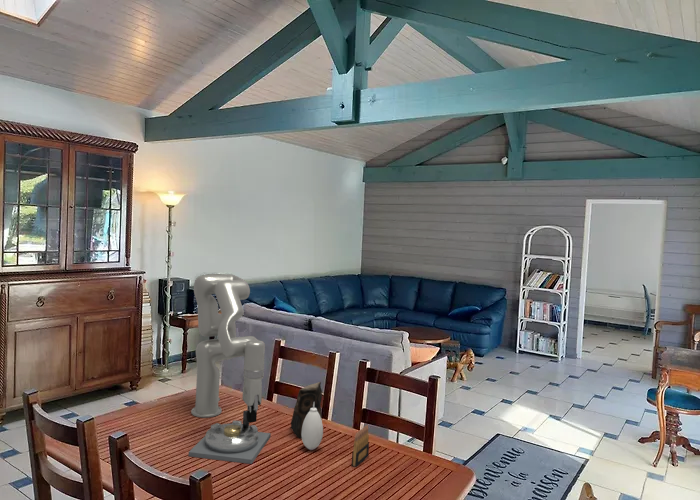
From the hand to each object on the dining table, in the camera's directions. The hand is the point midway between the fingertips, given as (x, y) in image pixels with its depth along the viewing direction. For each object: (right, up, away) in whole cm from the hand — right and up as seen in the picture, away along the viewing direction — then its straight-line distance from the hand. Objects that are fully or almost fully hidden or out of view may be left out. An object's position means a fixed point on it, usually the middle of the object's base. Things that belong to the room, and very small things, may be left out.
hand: (251, 421), depth 190 cm
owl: (+19, -9, +14) cm, 25 cm away
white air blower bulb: (+23, -10, -2) cm, 25 cm away
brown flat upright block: (+41, -11, -9) cm, 43 cm away
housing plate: (-7, -8, -4) cm, 11 cm away
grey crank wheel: (-7, -6, -4) cm, 10 cm away
